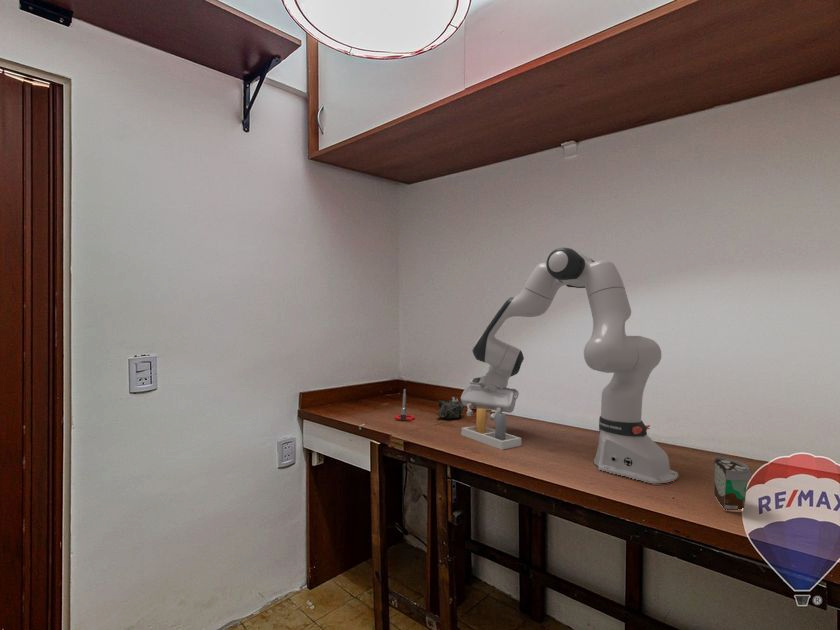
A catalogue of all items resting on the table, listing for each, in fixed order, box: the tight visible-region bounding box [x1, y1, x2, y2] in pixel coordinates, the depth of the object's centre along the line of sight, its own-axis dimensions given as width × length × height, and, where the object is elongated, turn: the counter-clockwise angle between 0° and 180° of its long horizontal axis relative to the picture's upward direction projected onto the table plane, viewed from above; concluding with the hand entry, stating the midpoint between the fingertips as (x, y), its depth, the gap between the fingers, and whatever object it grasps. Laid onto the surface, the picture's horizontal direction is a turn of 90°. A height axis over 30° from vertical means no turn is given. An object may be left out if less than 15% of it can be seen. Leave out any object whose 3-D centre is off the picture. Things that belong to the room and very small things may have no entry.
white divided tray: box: [461, 425, 522, 451], centre depth 154 cm, size 20×9×4 cm, turn 35°
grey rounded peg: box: [495, 412, 507, 441], centre depth 151 cm, size 4×4×10 cm
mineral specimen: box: [435, 396, 465, 420], centre depth 193 cm, size 15×13×10 cm
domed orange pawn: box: [475, 407, 487, 434], centre depth 158 cm, size 4×4×10 cm
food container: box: [713, 455, 752, 510], centre depth 107 cm, size 12×6×10 cm, turn 158°
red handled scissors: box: [394, 388, 416, 422], centre depth 187 cm, size 8×13×9 cm
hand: (480, 417), depth 158 cm, fingers open, 8 cm apart
